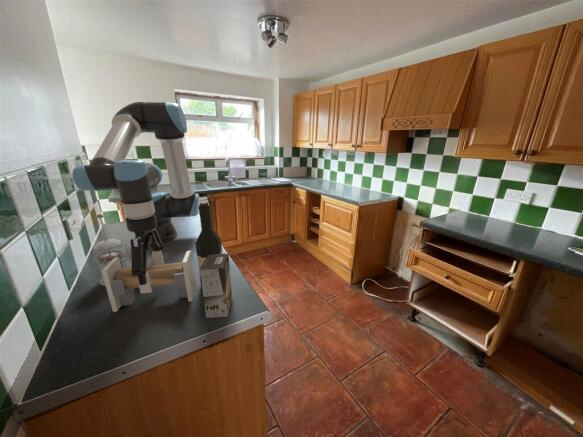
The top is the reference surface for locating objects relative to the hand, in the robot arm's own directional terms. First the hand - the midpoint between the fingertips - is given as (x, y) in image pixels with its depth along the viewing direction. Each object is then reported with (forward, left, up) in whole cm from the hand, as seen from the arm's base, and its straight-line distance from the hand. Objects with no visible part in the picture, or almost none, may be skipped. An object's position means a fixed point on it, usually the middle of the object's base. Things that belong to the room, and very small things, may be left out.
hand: (153, 279), depth 76 cm
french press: (-17, -18, -7) cm, 26 cm away
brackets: (0, 0, -7) cm, 7 cm away
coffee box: (+9, +20, -7) cm, 23 cm away
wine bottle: (-5, +17, -7) cm, 19 cm away
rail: (0, 0, -1) cm, 1 cm away
